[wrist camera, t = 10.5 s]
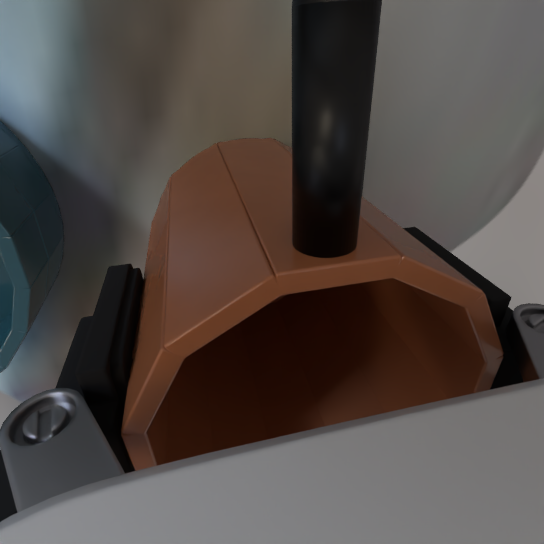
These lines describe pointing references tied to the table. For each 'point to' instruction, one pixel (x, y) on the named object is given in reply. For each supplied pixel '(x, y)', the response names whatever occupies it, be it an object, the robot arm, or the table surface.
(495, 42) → the table surface
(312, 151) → the orange mug
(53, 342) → the table surface
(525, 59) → the table surface
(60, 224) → the dark teal bowl
